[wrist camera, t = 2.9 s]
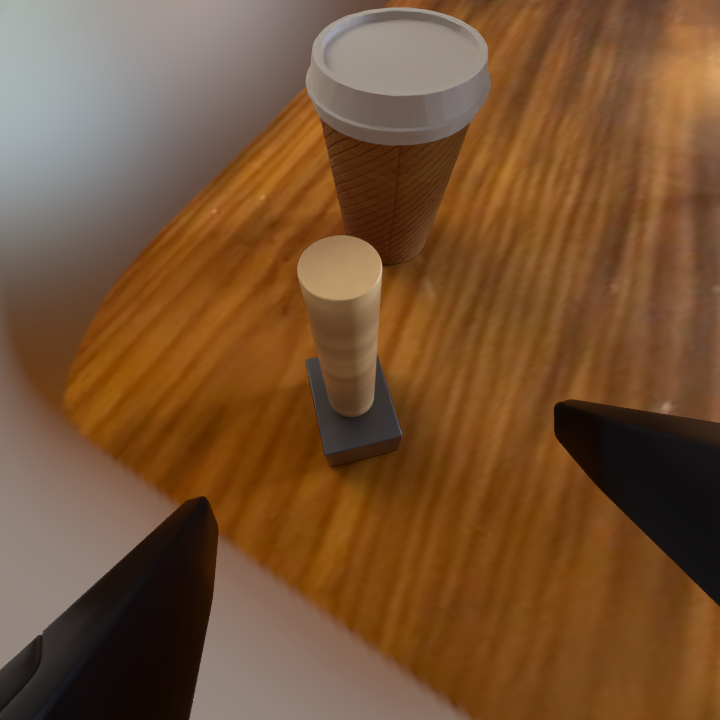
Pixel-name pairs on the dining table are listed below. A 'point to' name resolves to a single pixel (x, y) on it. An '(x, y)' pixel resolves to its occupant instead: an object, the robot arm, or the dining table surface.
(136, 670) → the robot arm
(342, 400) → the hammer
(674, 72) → the dining table surface
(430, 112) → the disposable coffee cup
